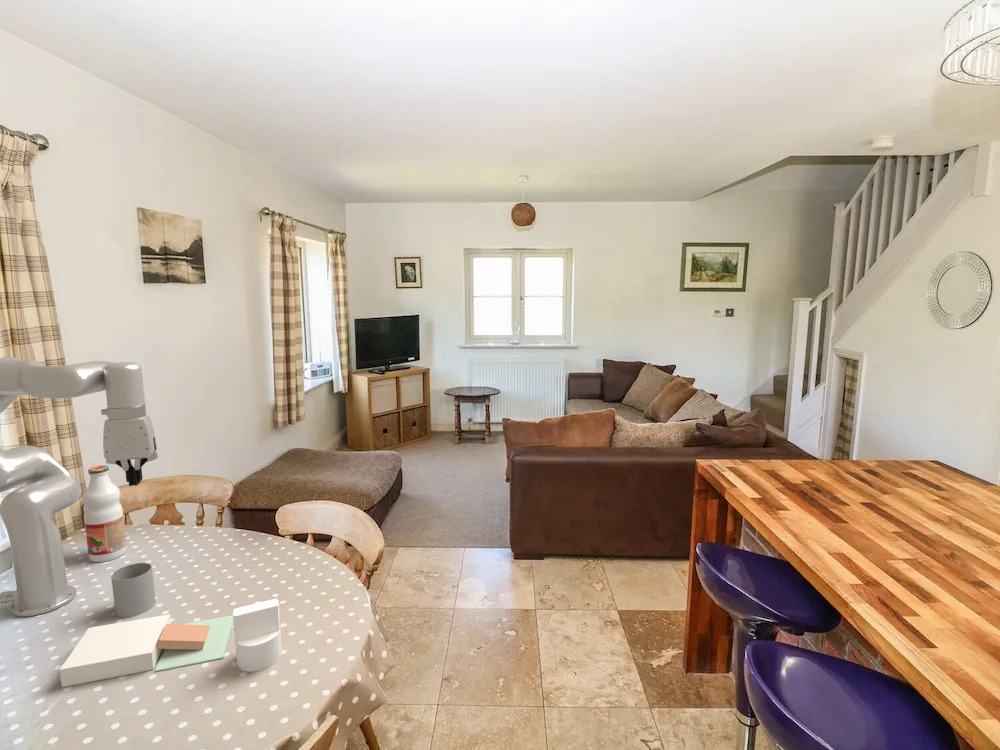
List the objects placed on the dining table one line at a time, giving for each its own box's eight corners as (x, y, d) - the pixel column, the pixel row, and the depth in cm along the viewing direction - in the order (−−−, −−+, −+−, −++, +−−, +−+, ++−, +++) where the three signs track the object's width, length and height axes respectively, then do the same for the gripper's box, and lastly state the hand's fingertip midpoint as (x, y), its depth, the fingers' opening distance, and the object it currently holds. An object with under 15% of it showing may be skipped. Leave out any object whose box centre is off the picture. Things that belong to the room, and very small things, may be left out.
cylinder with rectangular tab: (237, 677, 107) (233, 624, 105) (236, 651, 115) (232, 601, 113) (283, 663, 111) (280, 612, 109) (280, 638, 119) (277, 591, 117)
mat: (154, 672, 108) (154, 670, 108) (175, 626, 123) (174, 625, 123) (223, 658, 113) (223, 657, 112) (235, 615, 127) (234, 614, 127)
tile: (156, 648, 112) (158, 640, 112) (164, 631, 117) (166, 623, 117) (202, 649, 115) (204, 641, 115) (208, 633, 120) (210, 625, 120)
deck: (61, 687, 104) (59, 669, 103) (91, 643, 117) (89, 627, 116) (153, 669, 109) (151, 652, 108) (171, 629, 122) (170, 614, 122)
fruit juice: (127, 556, 156) (118, 468, 152) (88, 566, 151) (77, 475, 146) (127, 545, 164) (117, 460, 159) (89, 553, 158) (78, 466, 154)
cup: (163, 601, 133) (159, 566, 132) (131, 620, 126) (127, 582, 124) (140, 595, 136) (136, 560, 134) (107, 613, 128) (103, 576, 127)
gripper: (84, 418, 120) (93, 492, 123) (158, 413, 125) (165, 485, 127) (97, 411, 127) (105, 482, 130) (166, 407, 132) (173, 476, 134)
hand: (135, 483), depth 128 cm, fingers closed
